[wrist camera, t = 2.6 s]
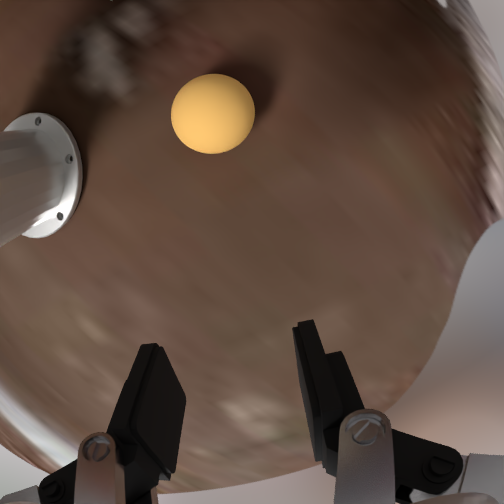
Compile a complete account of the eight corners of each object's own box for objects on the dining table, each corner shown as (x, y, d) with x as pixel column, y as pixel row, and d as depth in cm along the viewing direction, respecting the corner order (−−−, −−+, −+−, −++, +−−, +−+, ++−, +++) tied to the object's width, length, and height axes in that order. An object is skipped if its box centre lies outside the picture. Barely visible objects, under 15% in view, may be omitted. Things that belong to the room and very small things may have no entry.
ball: (187, 158, 24) (172, 165, 19) (174, 90, 22) (154, 79, 16) (259, 143, 24) (264, 146, 18) (246, 75, 22) (247, 57, 16)
